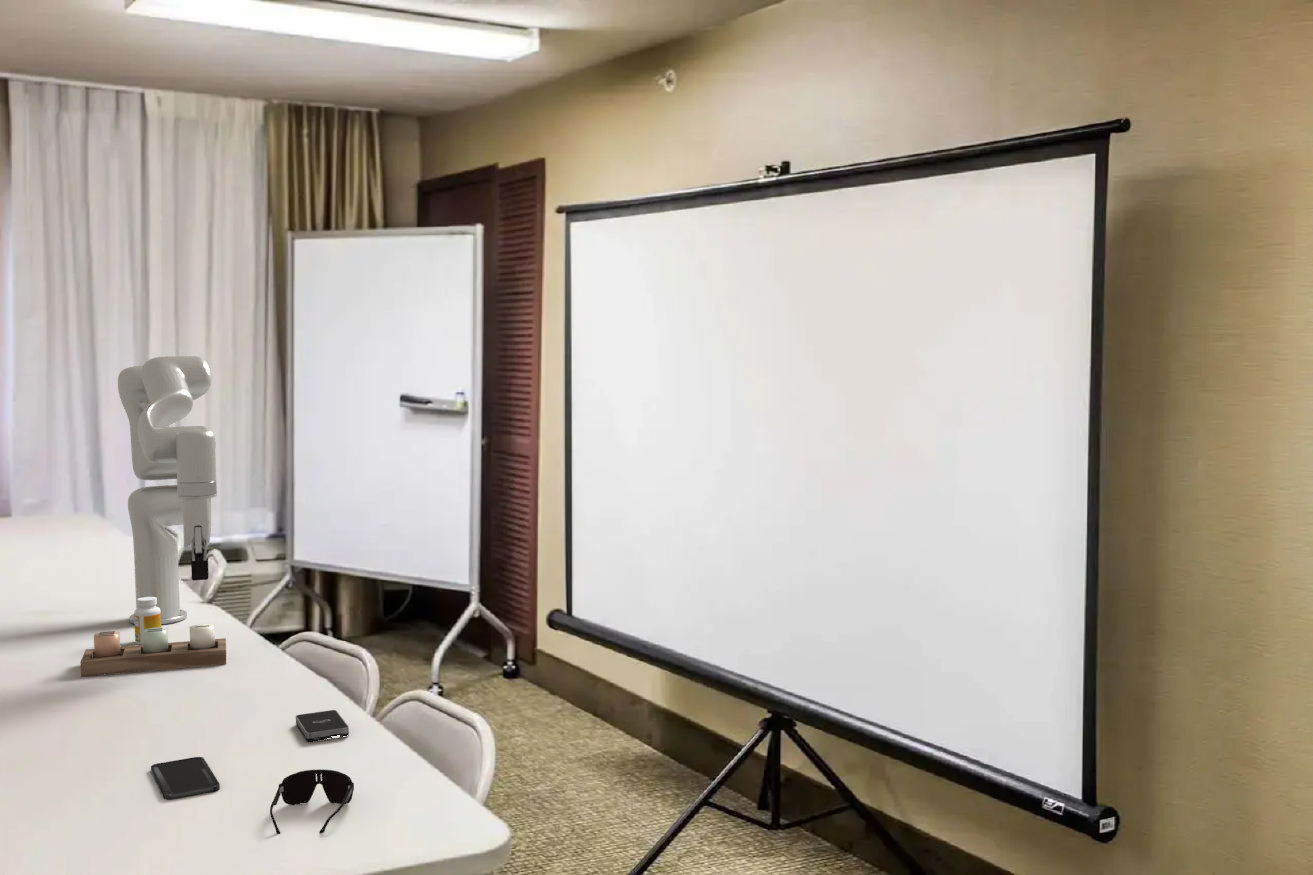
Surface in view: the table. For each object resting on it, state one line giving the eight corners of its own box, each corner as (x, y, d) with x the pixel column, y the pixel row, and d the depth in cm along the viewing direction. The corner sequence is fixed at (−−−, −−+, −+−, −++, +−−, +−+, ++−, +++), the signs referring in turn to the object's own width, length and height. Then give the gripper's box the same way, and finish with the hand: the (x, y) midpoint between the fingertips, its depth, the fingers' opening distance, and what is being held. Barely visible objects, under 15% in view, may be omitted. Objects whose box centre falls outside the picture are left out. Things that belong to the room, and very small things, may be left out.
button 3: (95, 651, 249) (94, 631, 249) (121, 649, 251) (120, 629, 251) (93, 657, 245) (92, 637, 245) (119, 655, 247) (118, 635, 246)
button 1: (190, 644, 255) (189, 624, 255) (215, 642, 257) (214, 622, 257) (189, 649, 251) (189, 629, 251) (214, 647, 252) (214, 627, 252)
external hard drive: (307, 745, 202) (306, 733, 202) (295, 726, 212) (294, 715, 212) (349, 739, 205) (349, 727, 205) (335, 720, 215) (335, 709, 215)
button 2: (143, 647, 252) (142, 628, 252) (168, 645, 254) (168, 626, 254) (142, 653, 248) (141, 633, 248) (167, 651, 249) (167, 631, 249)
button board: (86, 663, 251) (85, 649, 251) (226, 652, 260) (225, 638, 260) (81, 676, 242) (80, 661, 242) (226, 664, 251) (225, 649, 251)
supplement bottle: (166, 639, 272) (164, 596, 271) (154, 645, 266) (152, 601, 265) (143, 638, 272) (141, 595, 271) (130, 645, 267) (128, 600, 266)
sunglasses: (357, 800, 178) (355, 768, 177) (339, 844, 166) (337, 811, 165) (283, 801, 178) (281, 769, 177) (260, 846, 166) (258, 812, 165)
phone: (164, 796, 177) (149, 764, 190) (165, 803, 178) (150, 771, 191) (221, 785, 181) (203, 755, 194) (222, 793, 182) (203, 762, 194)
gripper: (178, 486, 257) (181, 573, 259) (176, 495, 243) (179, 587, 244) (216, 484, 260) (219, 570, 261) (216, 493, 245) (219, 584, 247)
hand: (200, 578), depth 253 cm, fingers closed
